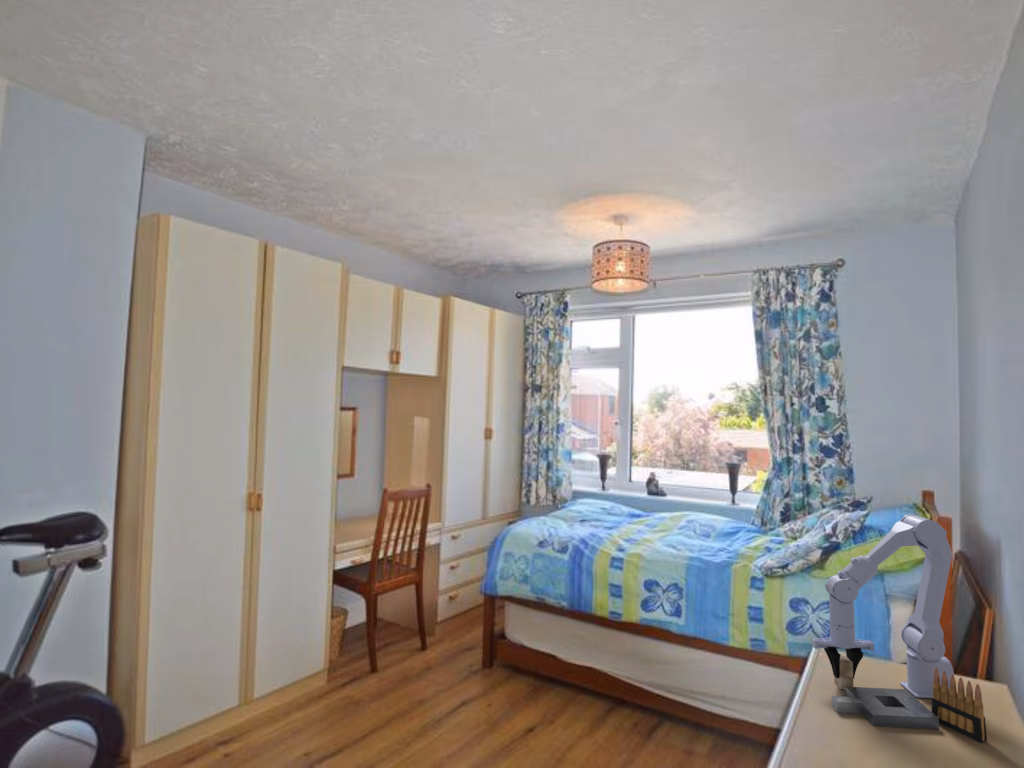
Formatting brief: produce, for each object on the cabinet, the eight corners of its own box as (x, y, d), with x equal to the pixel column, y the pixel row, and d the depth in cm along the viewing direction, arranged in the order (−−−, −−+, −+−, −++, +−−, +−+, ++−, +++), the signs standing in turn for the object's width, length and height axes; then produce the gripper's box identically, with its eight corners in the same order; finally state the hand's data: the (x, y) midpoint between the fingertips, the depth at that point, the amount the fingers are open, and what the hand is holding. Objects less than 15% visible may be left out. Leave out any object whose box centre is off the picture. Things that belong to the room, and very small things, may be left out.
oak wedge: (846, 683, 158) (845, 656, 158) (853, 690, 154) (852, 662, 154) (834, 682, 158) (833, 655, 159) (841, 689, 154) (840, 661, 155)
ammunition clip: (987, 741, 130) (985, 685, 131) (981, 743, 129) (979, 686, 130) (936, 718, 140) (934, 665, 140) (931, 720, 139) (929, 667, 140)
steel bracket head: (905, 699, 149) (905, 689, 149) (939, 729, 135) (938, 717, 135) (822, 695, 151) (822, 685, 151) (847, 724, 137) (847, 713, 137)
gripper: (864, 619, 160) (865, 671, 160) (807, 617, 162) (808, 669, 161) (877, 628, 153) (879, 683, 153) (817, 626, 155) (819, 680, 154)
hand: (843, 676), depth 156 cm, fingers closed on oak wedge, 3 cm apart
